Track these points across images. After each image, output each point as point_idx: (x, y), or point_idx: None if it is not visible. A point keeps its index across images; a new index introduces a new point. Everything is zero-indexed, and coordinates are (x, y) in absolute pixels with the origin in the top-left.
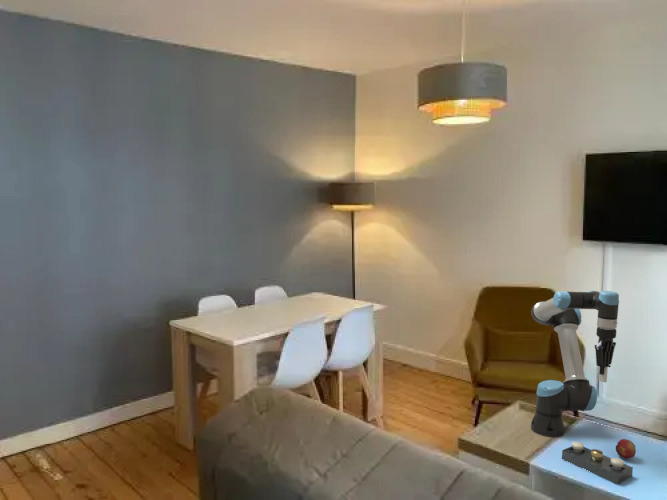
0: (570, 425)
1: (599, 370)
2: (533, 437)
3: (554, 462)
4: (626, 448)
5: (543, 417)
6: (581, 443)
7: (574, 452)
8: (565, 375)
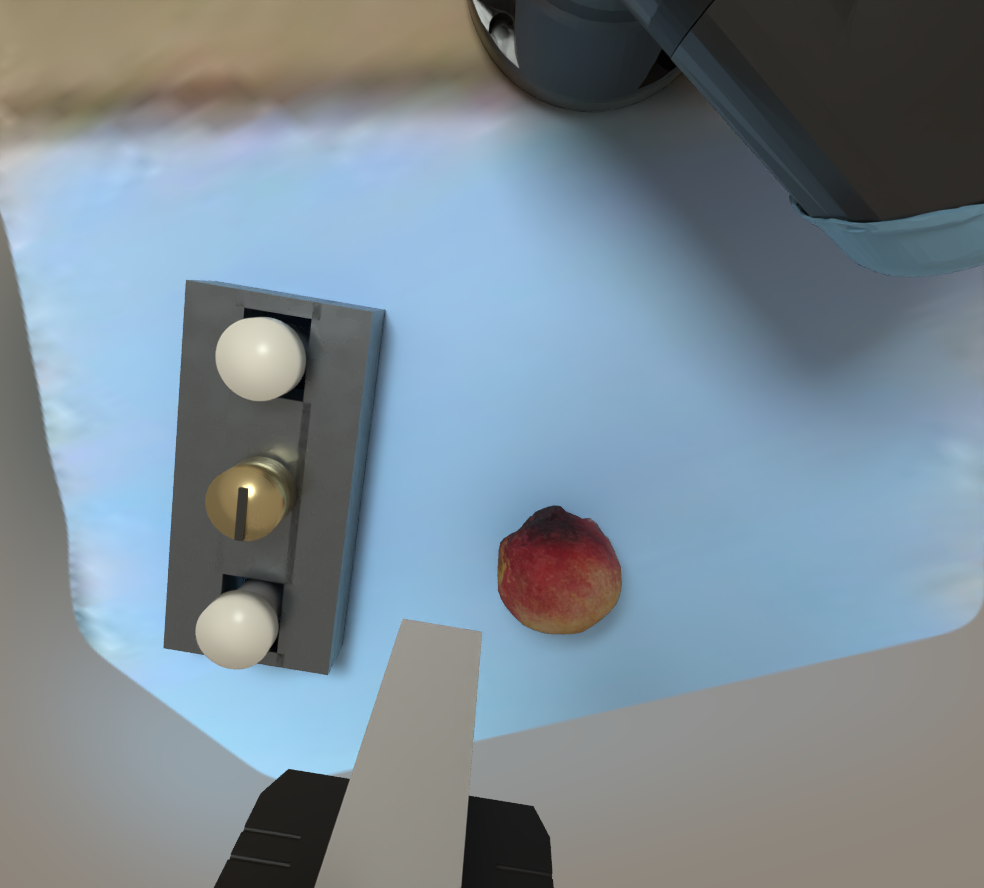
0: None
1: (343, 803)
2: None
3: (134, 268)
4: (507, 599)
5: None
6: (286, 375)
7: None
8: None
